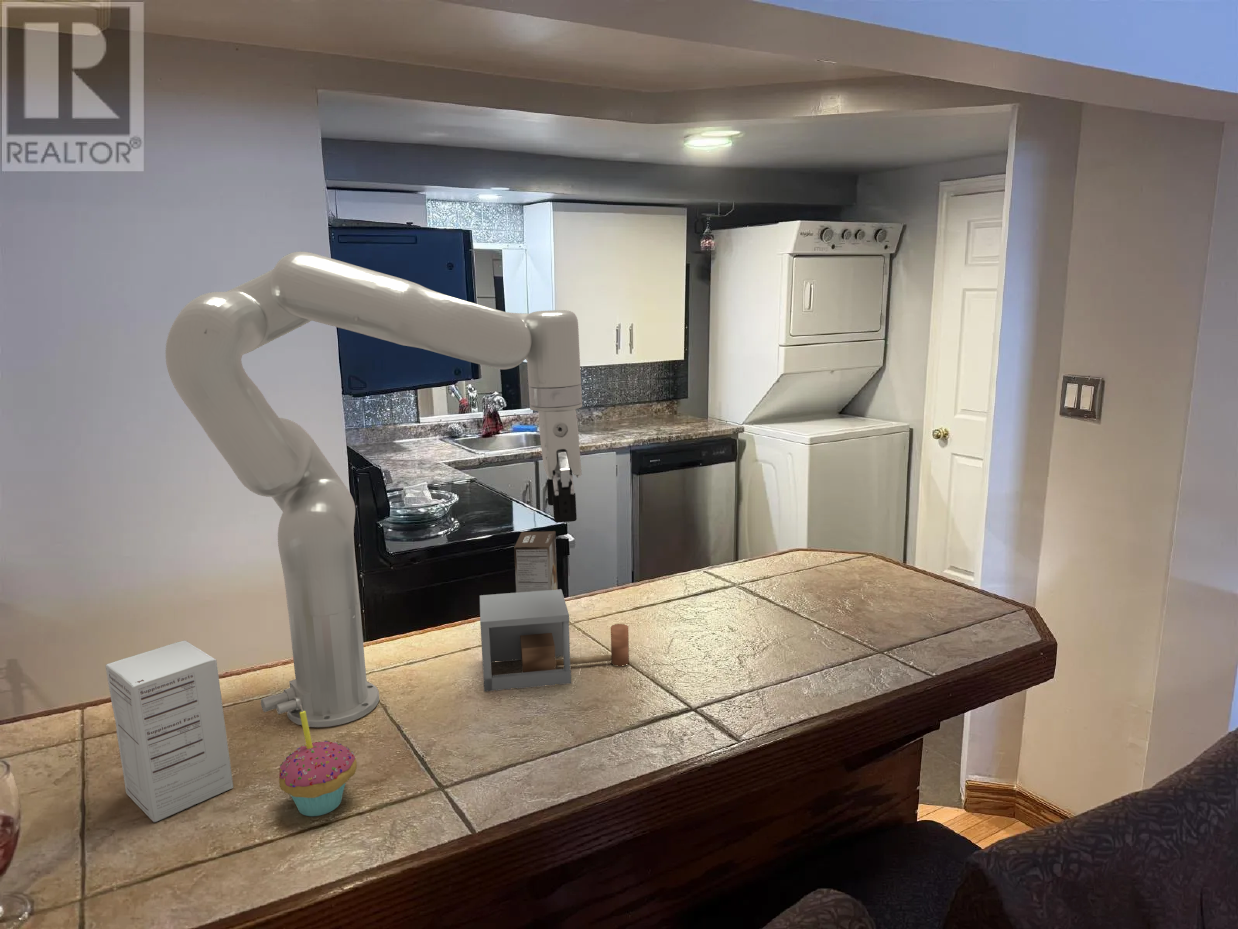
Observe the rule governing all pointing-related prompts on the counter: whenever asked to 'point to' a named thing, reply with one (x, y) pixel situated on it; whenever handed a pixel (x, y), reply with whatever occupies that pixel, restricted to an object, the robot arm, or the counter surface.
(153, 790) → the supplement box
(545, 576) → the coffee box
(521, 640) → the block
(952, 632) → the counter surface
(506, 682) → the grey open storage bin
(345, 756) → the cupcake
